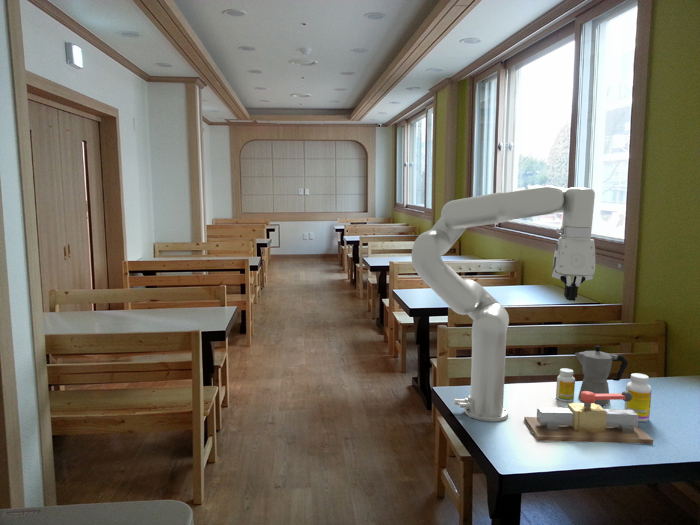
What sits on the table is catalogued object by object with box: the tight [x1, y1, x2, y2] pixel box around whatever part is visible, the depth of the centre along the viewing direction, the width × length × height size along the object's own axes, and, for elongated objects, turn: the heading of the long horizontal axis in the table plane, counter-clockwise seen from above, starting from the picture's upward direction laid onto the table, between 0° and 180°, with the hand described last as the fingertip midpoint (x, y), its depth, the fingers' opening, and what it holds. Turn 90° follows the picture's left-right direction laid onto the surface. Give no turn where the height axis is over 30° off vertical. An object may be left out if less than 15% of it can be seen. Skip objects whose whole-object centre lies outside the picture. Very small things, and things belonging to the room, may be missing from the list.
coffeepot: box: [574, 345, 629, 406], centre depth 174 cm, size 15×9×18 cm, turn 68°
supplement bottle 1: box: [555, 367, 576, 403], centre depth 176 cm, size 5×5×10 cm
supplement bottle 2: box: [623, 372, 652, 423], centre depth 162 cm, size 7×7×13 cm
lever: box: [580, 390, 632, 408], centre depth 151 cm, size 14×4×4 cm, turn 94°
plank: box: [523, 416, 654, 445], centre depth 152 cm, size 30×13×1 cm, turn 88°
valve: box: [536, 402, 639, 434], centre depth 152 cm, size 26×6×6 cm, turn 88°
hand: (570, 299), depth 152 cm, fingers closed
